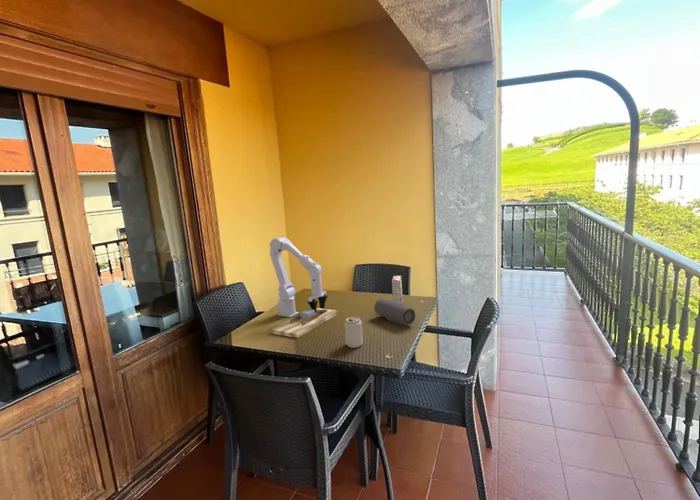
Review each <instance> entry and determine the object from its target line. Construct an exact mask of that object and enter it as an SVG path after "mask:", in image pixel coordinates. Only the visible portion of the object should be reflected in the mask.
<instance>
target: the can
mask: <svg viewBox="0 0 700 500" xmlns="http://www.w3.org/2000/svg"><path fill="white" fill-rule="evenodd" d="M344 333H345V335H344V336H345V345H346V346H347V347H349V348H351V349H352V348H353V349H354V348H355V349H356V348H360V347H361V346H363V344H364V339H363V338H364V337H363V321H362V320H361V317H358V316H350V317H347V318H345V321H344Z"/></svg>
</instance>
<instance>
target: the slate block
mask: <svg viewBox="0 0 700 500" xmlns="http://www.w3.org/2000/svg"><path fill="white" fill-rule="evenodd" d="M299 313H300V314H299V315H300V316H301V320H305V319H307V318H309V317H311V316H313V315H314V314H315V310H311V309H309V308H307V309H304V310H302V311H301V312H299Z"/></svg>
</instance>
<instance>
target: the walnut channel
mask: <svg viewBox="0 0 700 500" xmlns="http://www.w3.org/2000/svg"><path fill="white" fill-rule="evenodd" d="M316 318H318V314H317V313H316V314H314V315H313V316H311V317H309V318H307V319H305V320H303V321H302V326H304V325H305V324H307V323H309V322H311V321H313V320H314V319H316ZM300 319H301V316H300V314H298V315H297V316H295V317H292V318H291V319H289V320H290V323H291V324H293V323H295V322H297V321H298V320H300Z"/></svg>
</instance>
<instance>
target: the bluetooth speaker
mask: <svg viewBox="0 0 700 500" xmlns="http://www.w3.org/2000/svg"><path fill="white" fill-rule="evenodd" d="M373 308H374V311H375V312H376V314H378V315H379V316H381V317H384V318H386V320H387V321H389V322H390V323H392V324H395V325H405V326H410V325H413V323H414V322H415V319H416V312H415V309H413V308H411V307H409V306H407V305H405V304H400V303H397V302H394V301H393V300H390V299H386V298H379V299H377V300H376V301H375V304H374V307H373Z"/></svg>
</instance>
